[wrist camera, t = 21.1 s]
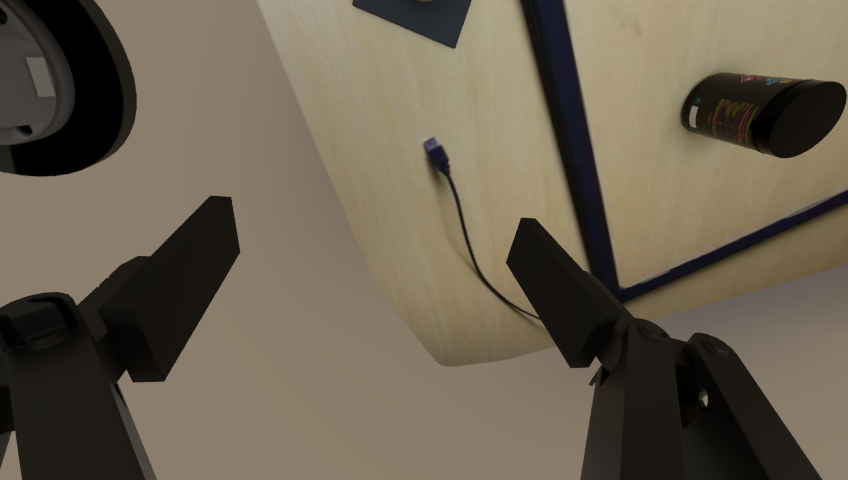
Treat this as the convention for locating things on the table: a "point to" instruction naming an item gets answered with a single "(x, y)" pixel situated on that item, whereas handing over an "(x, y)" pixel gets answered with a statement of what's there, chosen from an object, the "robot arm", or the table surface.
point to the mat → (422, 16)
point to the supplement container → (765, 111)
